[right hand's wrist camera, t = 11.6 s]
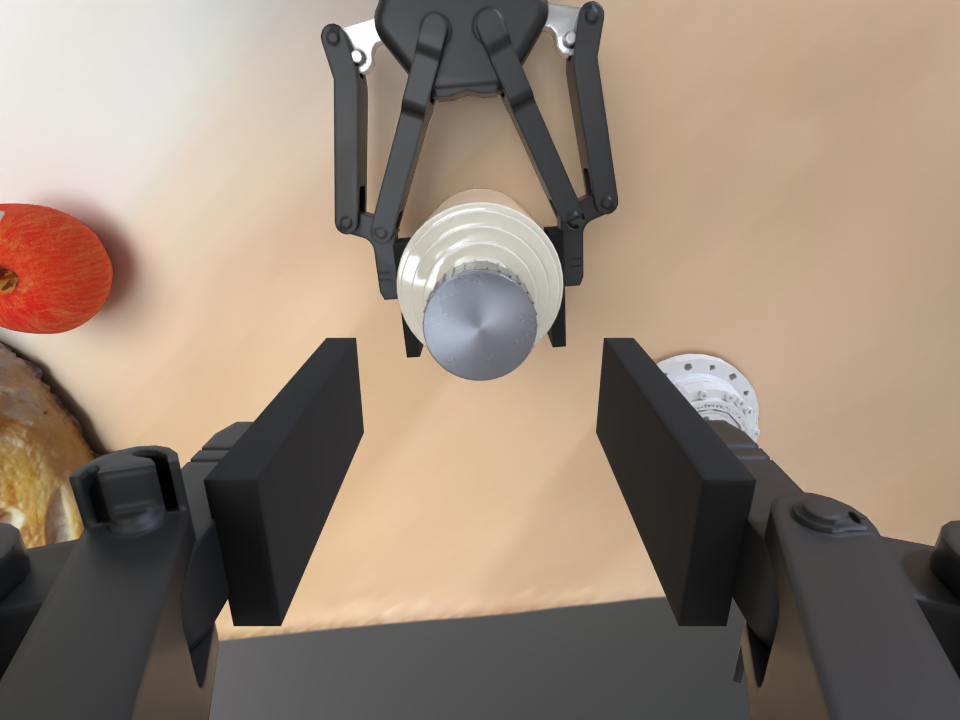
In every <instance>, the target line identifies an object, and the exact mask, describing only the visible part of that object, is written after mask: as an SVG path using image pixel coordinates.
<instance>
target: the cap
mask: <svg viewBox="0 0 960 720" xmlns="http://www.w3.org/2000/svg"><path fill="white" fill-rule="evenodd" d="M423 313H424V318H423V322H422V325H423V334H424V339H425V342H426V345H427V347H428V350H429V351H430V353H431V355H432V356H433V358H434V359H435V360H436V361H437V362H438V363H439V364H440V365H441V366H442V367H443V368H444V369H446V370H447V371H448V372H450V373H452V374H454V375H456V376H458V377H461V378H465V379H469V380H479V381H483V380H491V379H496V378H499V377H502V376H504V375H506V374H508V373H510V372H511V371H513V370H514V369H516V368H517V367H518V366H519V365H520V364H521V363H522V362H523V361H524V360H525V359H526V358H527V356H528V355H529V353H530V351H531V349H532V347H533V345H534V342H535V339H536V334H537V327H538V324H537V318H536V315H537V312H536V309H535V307H534V302H533V299H532V296H531V294H530V293H529V292H528V289H527V286H526V284H525V283H523V282H522V281H521V280H520V278H519V275H518V274H517V275H515V274H514V273H513V272H512V271H510V268H505V267H503V266H501V265H499V263H497V264H496V263H492V262H488V260H486V261H476V260H474V262H468V263H465V262H463V264H461V265H459V266H457V267H452V269H451V270H450V271H448V272H447V273H446V274H445V273H444V274H443V276H442V277H441V279H440V280H439V281H436V282H435V285H434V288H433V291H430V294H429V296H428V299H427V303H426V306H425V308H424V311H423Z"/></svg>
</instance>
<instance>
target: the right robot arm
mask: <svg viewBox="0 0 960 720" xmlns="http://www.w3.org/2000/svg"><path fill="white" fill-rule="evenodd" d="M363 433H364V427H363V416H362V404H361V392H360V380H359V368H358V356H357V344H356V338H326V339H325V340H324V342H323V343H322V344H321V345H320V346H319V347H318V348H317V350H316V351H315V352H314V353H313V354H312V355H311V357H310V358H309V359H308V360H307V361H306V362H305V363H304V365H303V366H302V367H301V368H300V369H299V370H298V372H297V373H296V374H295V375H294V376H293V377H292V378H291V380H290V381H289V382H288V383H287V384H286V385H285V386H284V388H283V389H282V390H281V391H280V392H279V393H278V395H277V396H276V397H275V398H274V399H273V400H272V401H271V403H270V404H269V405H268V406H267V407H266V408H265V410H264V411H263V412H262V413H261V414H260V415H259V416H258V418H257V419H256V420H255V421H254V422H236V423H234V424H232V425H230V426H229V427H227V428H225V429H223V430H221V431H220V432H218V433H216V434H215V435H214V436H213V437H212V438H211V439H210V440H209V441H208V442H207V443H206V444H205V445H204V446H203V447H202V450H199V451H198V452H197V453H196V454H195V455H194V456H193V457H192V458H191V462H188V463H187V464H186V465H185V466H184V467H183V468H182V469H181V468H180V463H179V459H178V454H177V453H176V452H175V451H173V450H172V449H170V448H167V447H161V446H139V447H133V448H128V449H123V450H119V451H115V452H112V453H109V454H106V455H104V456H101V457H98V458H96V459H94V460H92V461H90V462H88V463H87V464H85V465H83V466H81V467H79V468H78V469H77V470H76V471H75V472H74V473H73V474H72V475H71V476H70V477H69V480H70V484H71V487H72V490H73V493H74V497H75V500H76V503H77V506H78V510H79V513H80V516H81V519H82V523H83V526H84V530H83V532H82V533H81V535H80V537H79V539H75V540H70V541H65V542H60V543H55V544H50V545H44V546H39V547H34V548H29V549H26V547H25V544H24V542H23V539H22V536H21V533H20V531H19V529H18V528H16V527H15V526H13V525H11V524H7V523H0V720H209V714H210V707H211V700H212V692H213V685H214V678H215V671H216V664H217V657H218V649H219V640H218V633H217V629H216V624H215V620H216V619H217V617H218V615H219V613H220V612H221V610H222V608H223V606H224V605H225V603H226V601H227V599H228V601H229V605H230V610H231V615H232V620H233V625H234V626H281V625H282V622H283V620H284V618H285V615H286V613H287V611H288V608H289V606H290V604H291V601H292V599H293V597H294V594H295V592H296V590H297V587H298V585H299V583H300V580H301V578H302V576H303V573H304V571H305V569H306V566H307V564H308V562H309V559H310V557H311V555H312V552H313V550H314V548H315V545H316V543H317V541H318V538H319V536H320V534H321V531H322V529H323V527H324V524H325V522H326V520H327V517H328V515H329V513H330V510H331V508H332V506H333V503H334V501H335V499H336V496H337V494H338V492H339V489H340V487H341V485H342V482H343V480H344V478H345V475H346V473H347V471H348V468H349V466H350V464H351V461H352V459H353V457H354V454H355V452H356V450H357V447H358V445H359V443H360V440H361V438H362V436H363ZM596 433H597V436H598V438H599V440H600V443H601V445H602V447H603V450H604V452H605V454H606V457H607V459H608V461H609V464H610V466H611V468H612V471H613V473H614V475H615V478H616V480H617V482H618V485H619V487H620V489H621V492H622V494H623V496H624V499H625V501H626V503H627V506H628V508H629V510H630V513H631V515H632V517H633V520H634V522H635V524H636V527H637V529H638V531H639V534H640V536H641V538H642V541H643V543H644V545H645V548H646V550H647V552H648V555H649V557H650V559H651V562H652V564H653V566H654V569H655V571H656V573H657V576H658V578H659V580H660V583H661V585H662V587H663V590H664V592H665V594H666V597H667V599H668V601H669V604H670V606H671V608H672V611H673V613H674V615H675V618H676V620H677V622H678V625H679V626H726V625H727V620H728V615H729V610H730V605H731V601H732V597H733V598H734V600H735V602H736V604H737V605H738V607H739V609H740V610H741V612H742V614H743V616H744V617H745V619H746V620H745V624H744V629H743V633H742V638H741V642H740V647H739V651H738V656H737V660H736V665H735V669H734V676H733V681H735V682H739V683H741V679H742V675H743V671H744V670H745V677H746V684H747V691H748V698H749V705H750V712H751V720H960V520H959V521H950V522H949V523H947V524H945V525H944V526H942V528H941V531H940V533H939V536H938V539H937V542H936V544H935V547H934V546H929V545H924V544H919V543H913V542H908V541H903V540H898V539H892V538H887V537H883V536H880V534H879V532H878V531H877V529H876V527H875V526H874V525H873V524H872V523H871V522H870V520H869V519H868V518H867V517H866V516H865V515H863V514H862V513H860V512H859V511H857V510H856V509H854V508H852V507H851V506H849V505H847V504H844V503H842V502H840V501H837V500H835V499H833V498H829V497H825V496H821V495H817V494H813V493H804V492H803V491H802V490H801V489H800V488H799V487H798V486H797V485H796V484H795V483H794V482H793V481H792V480H791V479H790V478H789V476H788V475H787V474H786V473H785V472H784V471H783V470H782V469H781V468H780V467H779V466H778V465H777V464H776V463H775V462H774V461H773V460H770V457H769V456H768V455H767V454H766V453H765V452H764V451H763V450H762V449H761V448H758V445H757V444H756V443H755V442H754V441H753V440H752V439H751V438H750V437H749V436H748V435H747V434H746V433H745V432H744V431H742V430H741V429H739V428H737V427H735V426H733V425H731V424H730V423H728V422H726V421H724V420H704V419H703V418H702V416H701V415H700V414H699V413H698V412H697V411H696V410H695V408H694V407H693V406H692V405H691V404H690V403H689V401H688V400H687V399H686V398H685V397H684V396H683V395H682V393H681V392H680V391H679V390H678V389H677V388H676V386H675V385H674V384H673V383H672V382H671V381H670V380H669V378H668V377H667V376H666V375H665V374H664V373H663V372H662V370H661V369H660V368H659V367H658V366H657V365H656V363H655V362H654V361H653V360H652V359H651V358H650V357H649V355H648V354H647V353H646V352H645V351H644V350H643V348H642V347H641V346H640V345H639V344H638V343H637V342H636V340H635V339H634V338H604V344H603V356H602V368H601V380H600V392H599V404H598V416H597V427H596Z"/></svg>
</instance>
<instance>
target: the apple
mask: <svg viewBox="0 0 960 720" xmlns="http://www.w3.org/2000/svg"><path fill="white" fill-rule="evenodd" d="M112 278H113V270H112V264H111V261H110V259H109V256H108V254H107V252H106V250H105V248H104V246H103V244H102V242H101V241H100V239H99V238H98V237H97V235H96V234H95V233H94V232H93V231H92V230H91V229H89V228H88V227H87V226H86V225H85V224H83V223H82V222H80V221H79V220H77V219H75V218H73V217H72V216H70V215H68V214H66V213H64V212H61V211H58V210H56V209H52V208H49V207H44V206H38V205H31V204H0V326H1V327H3V328H7V329H10V330H14V331H19V332H25V333H35V334H54V333H61V332H66V331H69V330H72V329H74V328H76V327H78V326H80V325H82V324H84V323H85V322H87V321H88V320H89V319H91V318H92V317H93V316H94V315H95V314H96V313H97V312H98V311H99V310H100V309H101V308H102V306H103V305H104V303H105V302H106V300H107V298H108V296H109V292H110V289H111V284H112Z"/></svg>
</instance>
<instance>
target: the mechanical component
mask: <svg viewBox="0 0 960 720" xmlns="http://www.w3.org/2000/svg"><path fill="white" fill-rule="evenodd" d="M685 364H686V365H685ZM656 365H657V366H658V367H659V368H660V369H661V370H662V372H663V373H664V374H665V375H666V376H667V377H668V378H669V380H670V381H671V382H672V383H673V384H674V385H675V386H676V388H677V389H678V390H679V391H680V392H681V393H682V395H683V396H684V397H685V398H686V399H687V400H688V401H689V403H690V404H691V405H692V406H693V407H694V408H695V410H696V411H697V412H698V413H699V414H700V415H701V416H702V418H703V419H704V420H724V421H726V422H728V423H730V424H731V425H733V426H735V427H737V428H739V429H741V430H742V431H744V432H745V433H746V434H747V435H748V436H749V437H750V438H751V439H752V440H753V441H754V442H755V443H756V441H757V438H758V436H759V434H760V431H759V430H758V419H759V414H758V402H757V398H756V394H755V391H754V389H753V387H752V386H751V384H750V383H749V381H748V380H747V378H746V377H745V376H743V375H742V374H741V373H740V372H739V371H738V370H737V369H736V368H734V367H733V366H731V365H730V364H728V363H726V362H725V361H723V360H722V359H720V358H716V357H712V356H708V355H704V354H685V355H679V356H674V357H671V358H668V359H666V360H663V361H660V362H659V363H657V364H656Z"/></svg>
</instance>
